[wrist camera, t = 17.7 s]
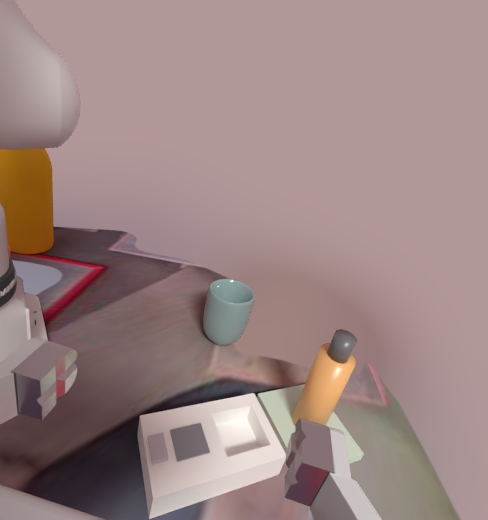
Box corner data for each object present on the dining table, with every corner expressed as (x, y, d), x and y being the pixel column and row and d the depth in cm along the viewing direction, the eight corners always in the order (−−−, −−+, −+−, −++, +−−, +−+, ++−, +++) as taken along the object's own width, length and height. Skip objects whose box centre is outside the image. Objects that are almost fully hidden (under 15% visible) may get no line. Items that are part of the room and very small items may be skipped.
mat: (255, 399, 47) (257, 393, 47) (310, 388, 52) (312, 382, 51) (299, 482, 38) (302, 476, 37) (360, 459, 42) (363, 453, 42)
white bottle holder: (149, 519, 31) (153, 494, 29) (137, 435, 38) (140, 412, 37) (278, 474, 38) (288, 452, 36) (248, 410, 45) (255, 389, 43)
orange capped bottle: (286, 411, 45) (320, 326, 39) (311, 405, 47) (347, 323, 41) (303, 440, 41) (344, 352, 35) (330, 432, 43) (372, 347, 37)
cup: (191, 330, 58) (200, 283, 53) (223, 318, 63) (234, 275, 59) (218, 358, 53) (230, 308, 49) (250, 342, 58) (264, 297, 54)
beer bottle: (41, 234, 76) (36, 102, 64) (62, 249, 72) (60, 112, 60) (-5, 241, 69) (-20, 94, 57) (15, 259, 65) (3, 104, 53)
